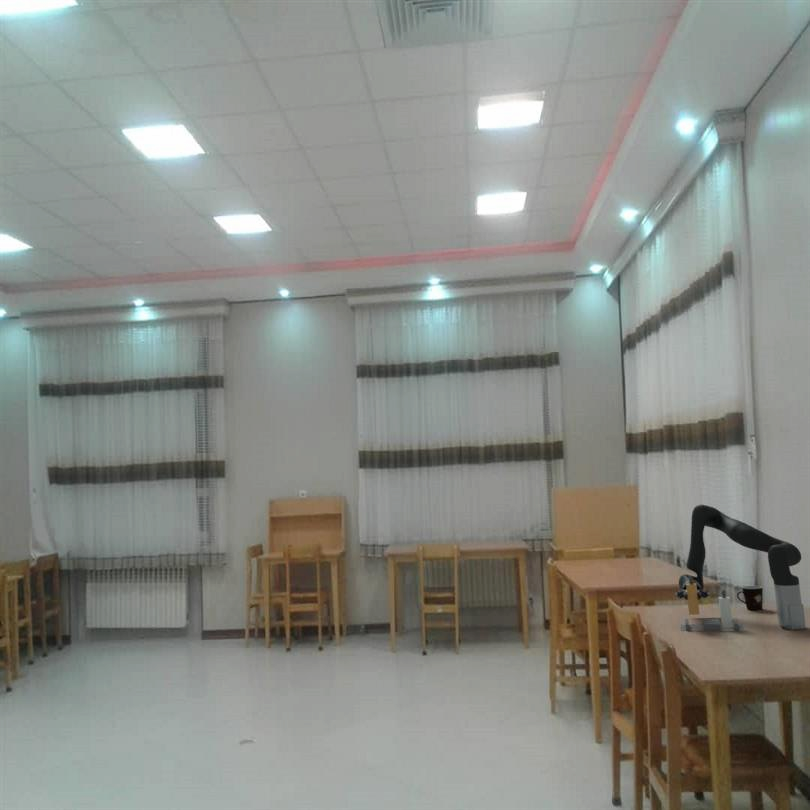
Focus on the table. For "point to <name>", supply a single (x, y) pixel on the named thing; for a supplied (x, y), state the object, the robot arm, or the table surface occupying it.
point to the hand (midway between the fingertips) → (692, 597)
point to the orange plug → (692, 597)
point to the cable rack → (710, 626)
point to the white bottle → (725, 611)
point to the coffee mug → (752, 597)
